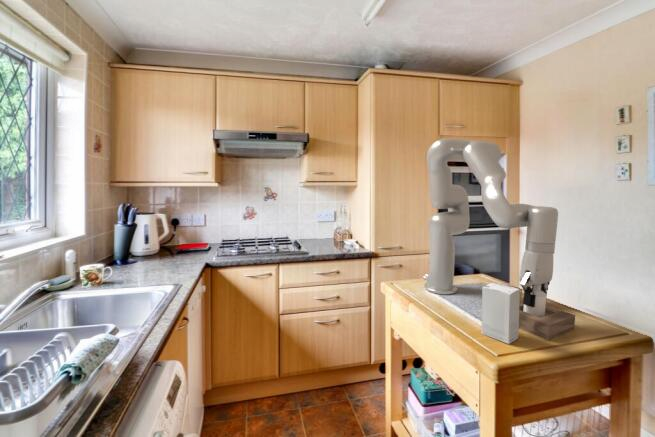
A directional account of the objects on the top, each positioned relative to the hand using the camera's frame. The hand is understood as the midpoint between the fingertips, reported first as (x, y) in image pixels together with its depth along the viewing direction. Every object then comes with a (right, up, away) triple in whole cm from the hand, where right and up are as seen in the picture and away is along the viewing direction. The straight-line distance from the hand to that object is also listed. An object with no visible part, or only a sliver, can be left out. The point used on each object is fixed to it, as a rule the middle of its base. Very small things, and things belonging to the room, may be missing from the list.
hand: (534, 303), depth 101 cm
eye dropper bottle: (0, -4, +1) cm, 4 cm away
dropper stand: (0, -7, +1) cm, 7 cm away
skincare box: (-15, -8, -7) cm, 18 cm away
